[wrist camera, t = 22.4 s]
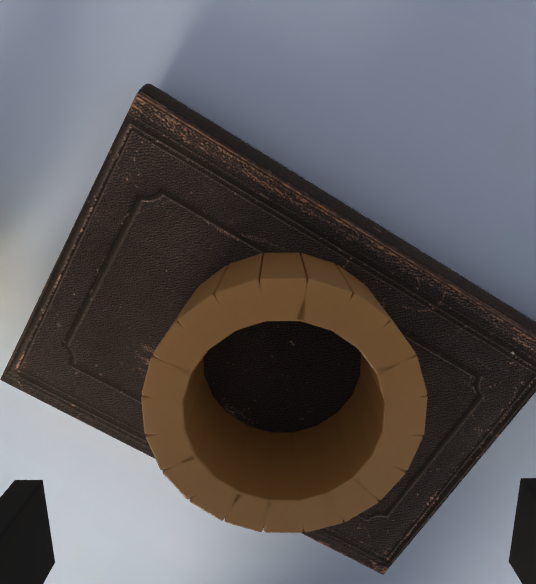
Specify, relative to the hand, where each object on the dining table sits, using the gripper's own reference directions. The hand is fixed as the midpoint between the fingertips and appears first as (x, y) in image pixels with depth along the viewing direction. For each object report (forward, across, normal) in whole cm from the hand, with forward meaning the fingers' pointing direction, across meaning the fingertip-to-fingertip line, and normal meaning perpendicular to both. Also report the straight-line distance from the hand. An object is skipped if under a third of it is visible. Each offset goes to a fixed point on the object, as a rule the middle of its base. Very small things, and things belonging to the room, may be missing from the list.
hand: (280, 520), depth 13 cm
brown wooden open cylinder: (+10, 0, 0) cm, 10 cm away
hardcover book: (+12, 0, 0) cm, 13 cm away
